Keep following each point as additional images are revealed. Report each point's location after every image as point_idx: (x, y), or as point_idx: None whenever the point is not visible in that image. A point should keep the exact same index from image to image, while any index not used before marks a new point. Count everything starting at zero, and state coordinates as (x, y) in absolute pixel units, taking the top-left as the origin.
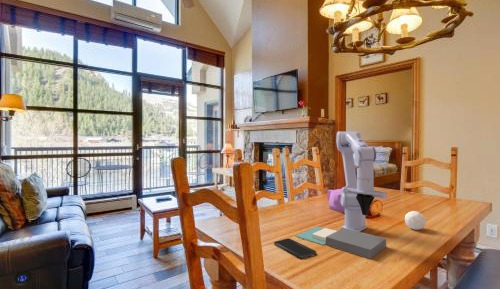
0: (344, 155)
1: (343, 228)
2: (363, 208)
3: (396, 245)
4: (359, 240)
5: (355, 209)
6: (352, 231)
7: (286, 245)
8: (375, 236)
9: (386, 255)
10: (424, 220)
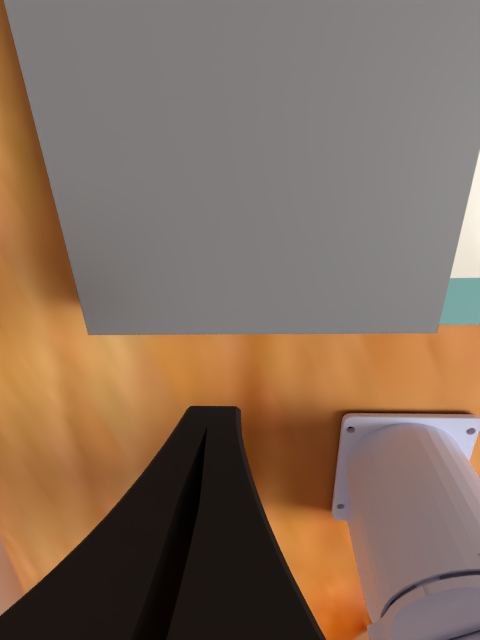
0: None
1: (434, 317)
2: (204, 482)
3: (88, 368)
4: (193, 122)
5: (429, 588)
6: (341, 302)
7: None
8: (156, 320)
9: (24, 161)
10: None
